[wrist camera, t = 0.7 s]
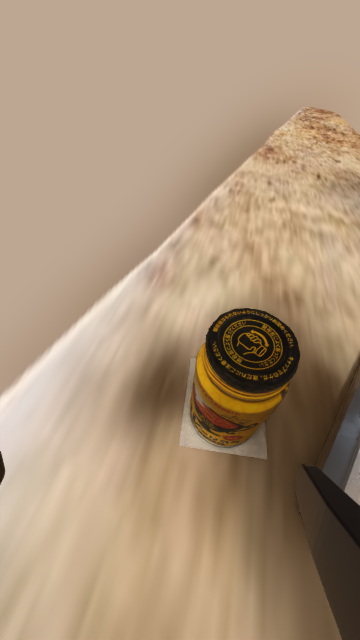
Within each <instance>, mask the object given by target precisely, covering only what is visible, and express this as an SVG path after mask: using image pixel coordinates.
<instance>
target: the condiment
mask: <svg viewBox="0 0 360 640" xmlns="http://www.w3.org/2000/svg"><path fill="white" fill-rule="evenodd" d="M299 359H300V351H299V347H298V342H297V339H296V337H295V335H294V333H293V332H292V330H291V329H290V328H289V327H288V326H287V325H286V324H284V323H283V322H282V321H280V320H279V319H278V318H276V317H274V316H273V315H271V314H269V313H267V312H265V311H261V310H256V309H249V308H244V309H233V310H231V311H229V312H226V313H224V314H222V315H220V316H219V317H218V318H217V320H216V321H214V322H213V324H212V325H211V326H210V328H209V331H208V333H207V335H206V342H205V343H204V344H203V345H202V347H201V349H200V351H199V352H198V355H197V358H193V357H191V360H190V367H189V374H188V382H187V389H186V396H185V404H184V411H183V418H182V426H181V433H180V440H179V445H180V446H186V447H192V448H197V449H203V450H209V451H215V452H221V453H228V454H234V455H240V456H249V457H254V458H261V459H266V460H267V444H266V425H265V421H266V419H267V418H268V416H269V415H270V414H271V413H272V412H273V411H274V410H275V409H276V407H277V406H278V405H279V403H280V402H281V401H282V400H283V398H284V397H285V395H286V393H287V391H288V387H289V382H290V379H291V378H292V377H293V375H294V374H295V372H296V370H297V368H298V363H299Z"/></svg>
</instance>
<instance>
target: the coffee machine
mask: <svg viewBox="0 0 360 640" xmlns="http://www.w3.org/2000/svg"><path fill="white" fill-rule="evenodd" d="M315 466H317V467H318V468H319V469H320V470H321V471H322V472H324V473H325V474H326V475H327V476H328V477H329V478H330V479H331V480H332V481H333V482H335V483H336V484H337V485H338V486H339V487H340V488H341V489H342V490H343V491H344V492H345V493H347V494H348V495H349V496H350V497H351V498H352V499H353V500H354V501H355V502H356V503H357V504H359V505H360V364H359V366H358V368H357V371H356V373H355V375H354V377H353V380H352V382H351V384H350V387H349V389H348V391H347V394H346V396H345V398H344V400H343V403H342V405H341V407H340V410H339V412H338V414H337V417H336V419H335V421H334V423H333V426H332V428H331V430H330V433H329V435H328V437H327V440H326V442H325V444H324V446H323V449H322V451H321V453H320V456H319V458H318V460H317V463H316V465H315ZM296 510H297V511H298V512H299V513H300V514H301V512H300V508H299V504H298V506H297V509H296Z"/></svg>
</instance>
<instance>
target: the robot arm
mask: <svg viewBox="0 0 360 640" xmlns="http://www.w3.org/2000/svg"><path fill="white" fill-rule="evenodd" d="M4 475H5V467H4V463H3V458H2V454H1V451H0V484H1V482H2V480H3V478H4ZM295 492H296V496H297V500H298V504H299V508H300V512H301V516H302V520H303V523H304V527H305V531H306V535H307V539H308V543H309V546H310V550H311V553H312V556H313V559H314V562H315V565H316V568H317V571H318V573H319V576H320V579H321V582H322V585H323V587H324V590H325V593H326V596H327V599H328V601H329V604H330V607H331V610H332V613H333V615H334V618H335V621H336V624H337V627H338V629H339V632H340V635H341V638H342V640H360V505H359V504H357V503H356V502H355V501H354V500H353V499H352V498H351V497H350V496H349V495H348V494H347V493H345V492H344V491H343V490H342V489H341V488H340V487H339V486H338V485H337V484H336V483H335V482H333V481H332V480H331V479H330V478H329V477H328V476H327V475H326V474H325V473H324V472H322V471H321V470H320V469H319V468H318V467H317V466H315V465H312V464H301V465H300V466H299V470H298V474H297V478H296V482H295Z"/></svg>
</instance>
